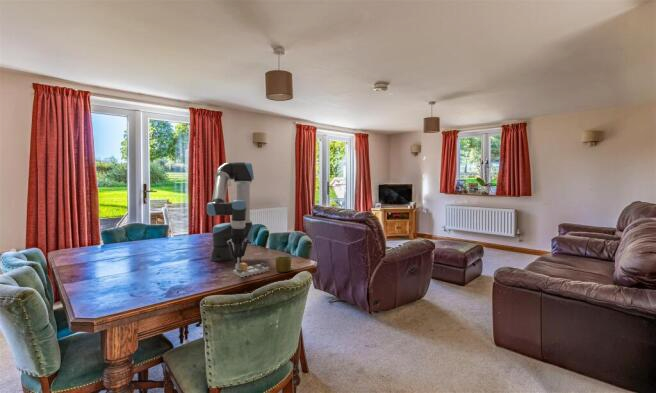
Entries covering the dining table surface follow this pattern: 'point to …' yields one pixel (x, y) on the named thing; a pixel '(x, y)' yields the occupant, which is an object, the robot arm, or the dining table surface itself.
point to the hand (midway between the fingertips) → (237, 269)
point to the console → (251, 270)
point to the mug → (283, 264)
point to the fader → (243, 266)
